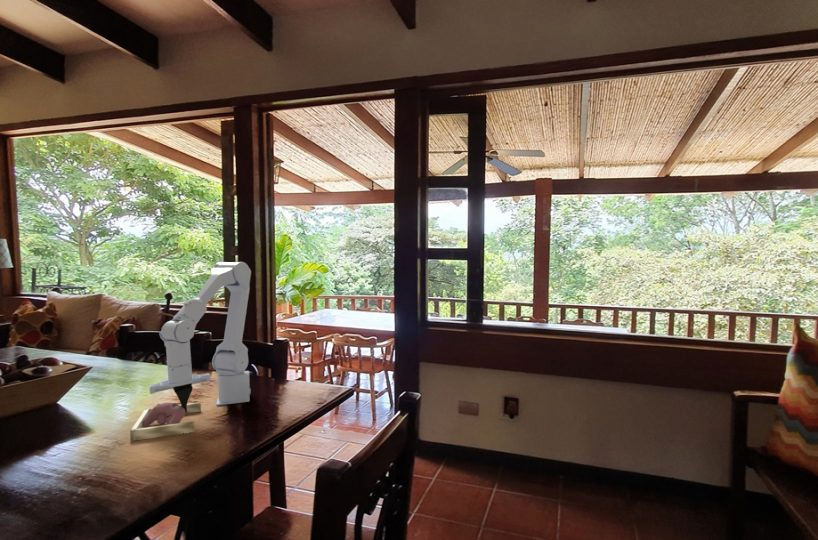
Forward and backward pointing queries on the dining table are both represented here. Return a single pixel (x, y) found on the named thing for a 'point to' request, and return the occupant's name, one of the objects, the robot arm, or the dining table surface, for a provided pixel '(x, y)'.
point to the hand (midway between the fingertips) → (182, 412)
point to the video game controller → (165, 414)
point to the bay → (163, 430)
